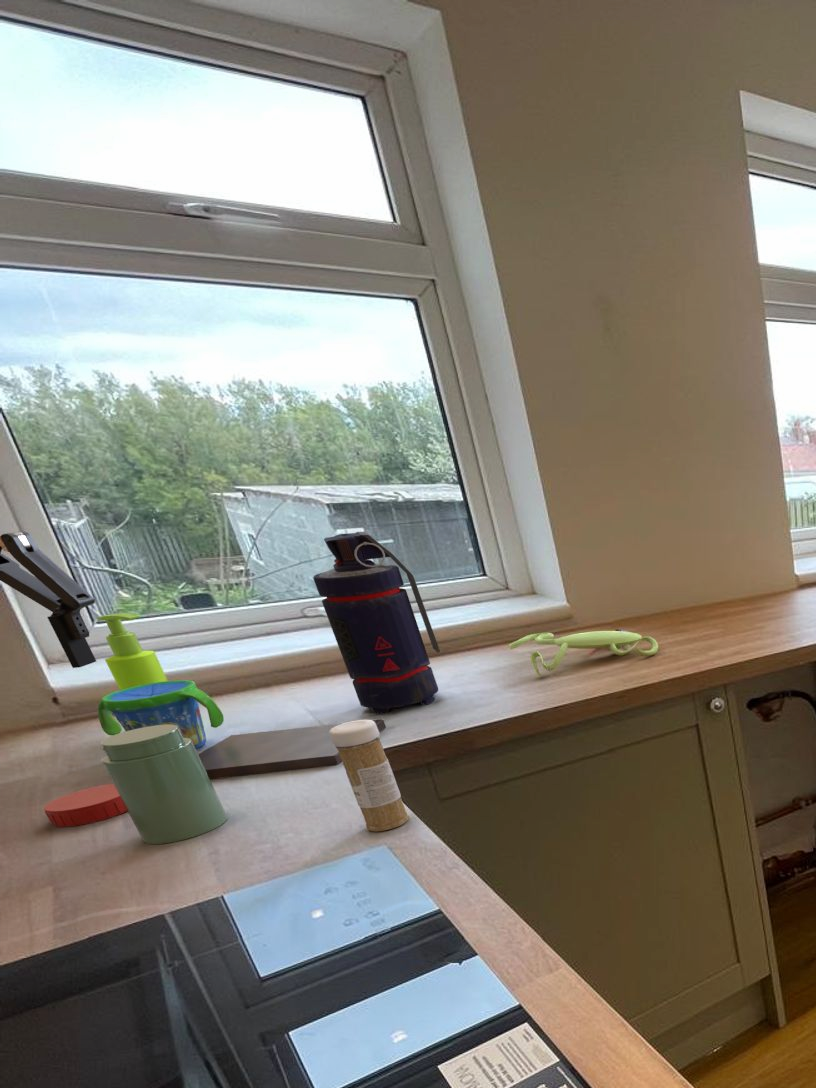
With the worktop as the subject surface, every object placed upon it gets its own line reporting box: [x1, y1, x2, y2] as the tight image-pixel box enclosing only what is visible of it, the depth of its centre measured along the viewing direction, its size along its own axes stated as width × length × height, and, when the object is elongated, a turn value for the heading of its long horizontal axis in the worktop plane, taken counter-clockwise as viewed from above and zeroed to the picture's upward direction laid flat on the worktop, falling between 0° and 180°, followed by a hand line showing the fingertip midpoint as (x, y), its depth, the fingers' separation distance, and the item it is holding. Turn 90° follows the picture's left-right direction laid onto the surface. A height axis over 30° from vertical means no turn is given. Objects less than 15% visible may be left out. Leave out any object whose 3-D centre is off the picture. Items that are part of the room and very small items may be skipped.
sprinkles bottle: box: [329, 719, 410, 832], centre depth 99 cm, size 5×5×13 cm
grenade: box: [312, 531, 441, 715], centre depth 142 cm, size 14×12×30 cm
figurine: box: [508, 628, 659, 678], centre depth 169 cm, size 18×27×6 cm
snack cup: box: [97, 679, 225, 750], centre depth 128 cm, size 16×10×10 cm
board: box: [198, 718, 387, 780], centre depth 126 cm, size 22×16×2 cm
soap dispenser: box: [96, 612, 169, 690], centre depth 136 cm, size 6×7×20 cm
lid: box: [43, 783, 128, 828], centre depth 109 cm, size 9×9×2 cm
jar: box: [100, 725, 228, 845], centre depth 101 cm, size 8×8×13 cm
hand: (20, 670), depth 101 cm, fingers open, 13 cm apart
